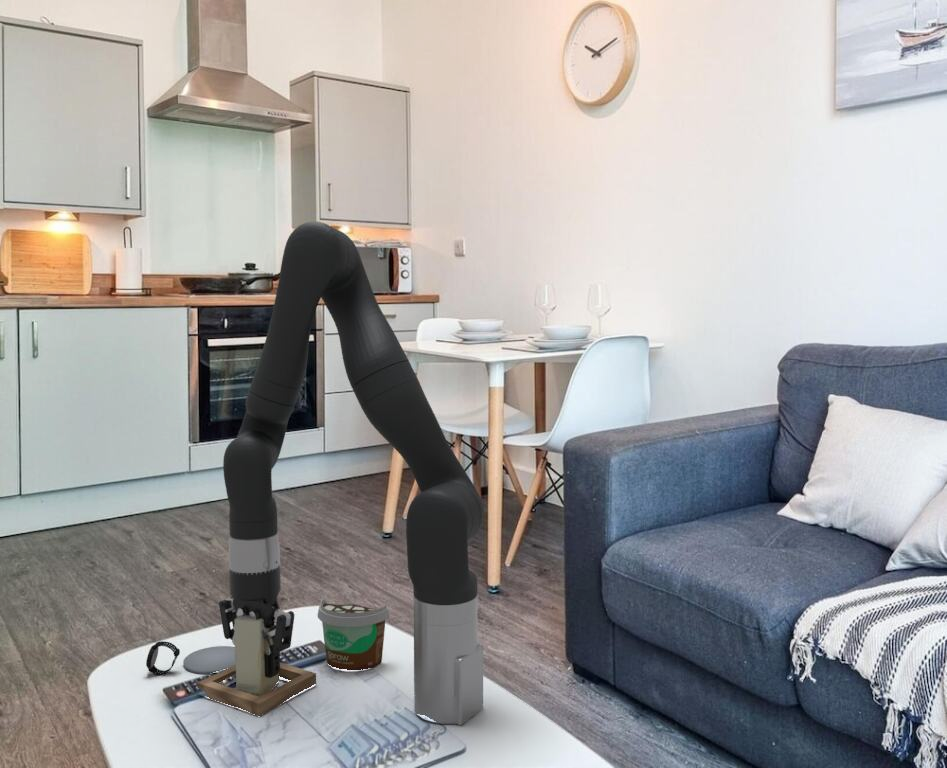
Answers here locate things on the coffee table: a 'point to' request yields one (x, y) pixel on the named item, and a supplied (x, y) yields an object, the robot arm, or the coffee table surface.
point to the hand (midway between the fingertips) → (257, 671)
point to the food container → (353, 635)
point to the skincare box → (251, 657)
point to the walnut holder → (251, 702)
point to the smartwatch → (153, 656)
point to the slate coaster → (210, 659)
